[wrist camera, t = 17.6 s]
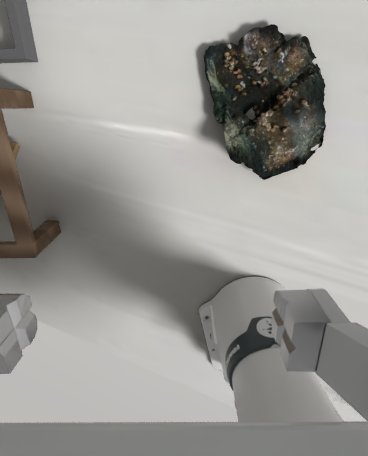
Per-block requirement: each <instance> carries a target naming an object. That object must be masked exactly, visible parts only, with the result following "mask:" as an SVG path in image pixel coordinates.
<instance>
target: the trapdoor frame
mask: <svg viewBox="0 0 368 456" xmlns="http://www.w3.org/2000/svg"><path fill="white" fill-rule="evenodd" d="M1 108H34V105H33V100H32V96H31V92H29V91H20V90H10V89H0V188H1V192H2V195H3V199H4V202H5V206H6V209H7V213H8V216H9V220H10V223H11V227H12V230H13V233H14V237H15V240H16V241H14V242H0V258H35V257H36V256H37V255H38V254H39V253H40V252H41V251H42V250H44V249H45V248H46V247H47V246H48V245H49V244H50V243H51V242H52V241H53V240H54V239H55V238H56V237H57V236H58V235H59V234H60V233H61V230H60V226H59V221H46V222H44V223H43V224H42V225H41V226H39V227H38V228H37V229H36V230H34V231H33V230H32V226H31V222H30V218H29V214H28V210H27V206H26V203H25V199H24V195H23V191H22V187H21V183H20V179H19V175H18V172H17V168H16V164H15V160H14V156H13V152H12V148H11V144H10V141H9V137H8V133H7V129H6V125H5V121H4V117H3V113H2V110H1Z"/></svg>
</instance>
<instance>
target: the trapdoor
mask: <svg viewBox="0 0 368 456" xmlns="http://www.w3.org/2000/svg"><path fill="white" fill-rule="evenodd" d="M10 144H11V148H12V152H13V156H14V160H15V158H16V155H17V153H18V150H19V148H20V146H19V144H18V143H17V142H10ZM0 194H1V188H0Z"/></svg>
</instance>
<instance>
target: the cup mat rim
mask: <svg viewBox="0 0 368 456" xmlns="http://www.w3.org/2000/svg"><path fill="white" fill-rule="evenodd" d="M5 4H6V9H7V13H8V18H9V22H10V27H11V31H12V36H13V40H14V45H15V49H0V63H20V62H38V59H37V54H36V49H35V44H34V39H33V34H32V29H31V24H30V19H29V14H28V9H27V3H26V0H5Z"/></svg>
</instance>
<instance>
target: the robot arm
mask: <svg viewBox="0 0 368 456" xmlns="http://www.w3.org/2000/svg"><path fill="white" fill-rule="evenodd" d="M31 306H32V302H31V299H30V297H29V296H28V295H26V294H0V374H9V373H11V372H12V370H13V369H14V367H15V366H16V364H17V363H18V361H19V360H20V359H21V357H22V349H24V348H25V347H27V346H28V345H30V344H31V342H32V341H33V339H34V337H35V334H36V331H37V319H36V316H35V314H33V313H32V312H31V311H30V310H29V309H30V307H31ZM199 314H200V318H201V322H202V326H203V330H204V334H205V338H206V342H207V346H208V350H209V354H210V358H211V362H212V366H213V367H214V368H216V369H218V370H220V371H223V374H224V379H225V381H226V382H227V383H229V384H230V386H231V388H232V390H233V391H234V397H235V406H236V410H237V416H238V422H115V423H114V422H108V423H107V422H106V423H105V422H101V423H100V422H99V423H98V422H94V423H0V456H368V422H344V421H343V419H342V418H341V417H340V415H339V414H338V412H337V411H336V409H335V407H334V406H333V404H332V402H331V401H330V399H329V397H328V395H327V394H326V392H325V390H324V388H323V386H322V385H321V383H320V381H319V379H318V377H317V375H318V376H319V377H320V378H322V379H323V380H324V381H325V382H326V383H327V384H328V385H329V386H330V387H331V388H332V389H333V390H334V391H336V392H337V393H338V394H339V395H340V396H341V397H342V398H343V399H344V400H345V401H346V402H347V403H348V404H349V405H351V406H352V407H353V408H354V409H355V410H356V411H357V412H358V413H359V414H360V415H361V416H362V417H363V418H365V419H366V420H367V421H368V329H367V328H365V327H363V326H361V325H360V324H358V323H351V322H350V321H349V319H348V318H347V317H346V316H345V314H344V313H343V312H342V310H341V309H340V308H339V307H338V305H337V304H336V303H335V301H334V300H333V299H332V298H331V296H330V295H329V294H328V292H327V291H326V290H324V289H307V290H285V289H284V288H283V287H282V286H281V285H280V284H278V283H277V282H275V281H273V280H270V279H267V278H263V277H246V278H241V279H238V280H235V281H233V282H231V283H229V284H228V285H226V286H225V287H223V288H222V289H221V290H220V291H219V292H218V293H217V295H216V296H215V297H214V298H213V299H212V300H211V301H209V302H207V303H205V304H203V305H202V306H201V307H200V308H199ZM205 316H208V317H205ZM316 374H317V375H316Z"/></svg>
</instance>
